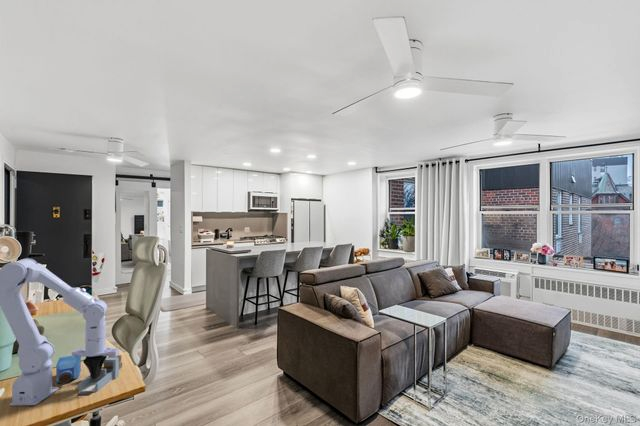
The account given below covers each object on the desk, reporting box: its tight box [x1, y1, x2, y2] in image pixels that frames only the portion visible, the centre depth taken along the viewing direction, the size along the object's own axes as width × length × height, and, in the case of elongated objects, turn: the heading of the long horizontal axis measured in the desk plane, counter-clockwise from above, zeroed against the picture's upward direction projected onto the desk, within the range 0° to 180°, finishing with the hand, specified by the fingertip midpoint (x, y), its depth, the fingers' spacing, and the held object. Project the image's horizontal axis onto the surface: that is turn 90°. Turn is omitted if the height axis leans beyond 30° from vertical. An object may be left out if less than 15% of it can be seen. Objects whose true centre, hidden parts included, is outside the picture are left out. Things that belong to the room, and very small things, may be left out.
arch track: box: [77, 357, 121, 396], centre depth 110 cm, size 16×8×7 cm, turn 2°
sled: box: [93, 361, 123, 382], centre depth 115 cm, size 10×4×4 cm, turn 2°
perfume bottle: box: [55, 355, 82, 384], centre depth 112 cm, size 6×6×12 cm
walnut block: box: [102, 354, 122, 369], centre depth 117 cm, size 4×4×4 cm
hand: (95, 377), depth 108 cm, fingers closed
